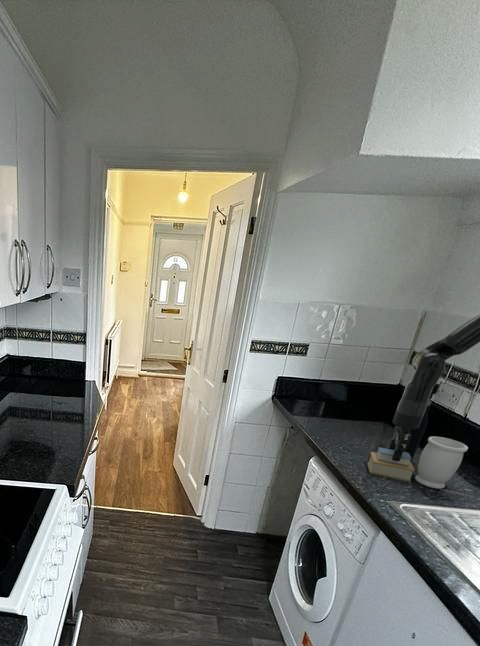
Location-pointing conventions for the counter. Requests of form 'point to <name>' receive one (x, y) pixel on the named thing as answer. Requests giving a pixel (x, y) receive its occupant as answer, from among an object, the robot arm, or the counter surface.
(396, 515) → the counter surface
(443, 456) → the jar
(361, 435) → the counter surface
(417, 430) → the wine bottle
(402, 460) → the pocket book
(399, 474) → the big book
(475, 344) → the robot arm
